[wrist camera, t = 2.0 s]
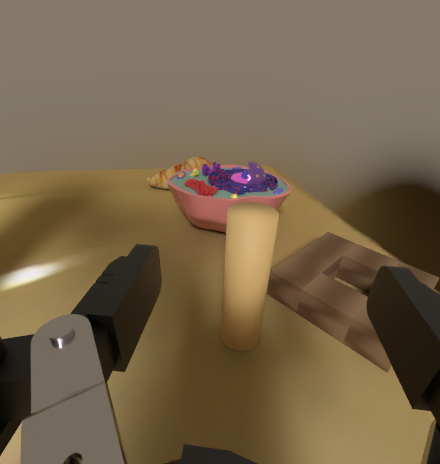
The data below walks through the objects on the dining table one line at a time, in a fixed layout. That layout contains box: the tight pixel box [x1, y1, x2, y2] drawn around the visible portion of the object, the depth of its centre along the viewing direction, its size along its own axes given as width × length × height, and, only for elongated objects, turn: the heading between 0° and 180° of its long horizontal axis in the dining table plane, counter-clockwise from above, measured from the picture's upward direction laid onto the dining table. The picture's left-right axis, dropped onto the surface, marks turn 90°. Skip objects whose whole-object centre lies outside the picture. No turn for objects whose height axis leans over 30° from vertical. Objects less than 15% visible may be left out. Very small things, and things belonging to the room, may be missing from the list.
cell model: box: [167, 161, 291, 233], centre depth 47 cm, size 17×20×11 cm
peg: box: [221, 202, 279, 352], centre depth 25 cm, size 4×4×14 cm
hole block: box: [267, 232, 439, 372], centre depth 33 cm, size 14×14×4 cm
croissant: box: [147, 156, 213, 190], centre depth 65 cm, size 21×10×8 cm, turn 113°
